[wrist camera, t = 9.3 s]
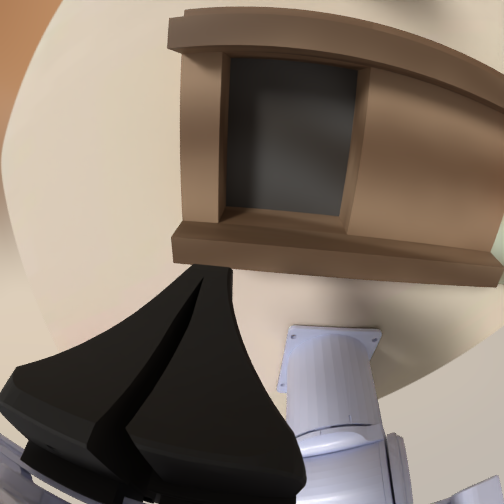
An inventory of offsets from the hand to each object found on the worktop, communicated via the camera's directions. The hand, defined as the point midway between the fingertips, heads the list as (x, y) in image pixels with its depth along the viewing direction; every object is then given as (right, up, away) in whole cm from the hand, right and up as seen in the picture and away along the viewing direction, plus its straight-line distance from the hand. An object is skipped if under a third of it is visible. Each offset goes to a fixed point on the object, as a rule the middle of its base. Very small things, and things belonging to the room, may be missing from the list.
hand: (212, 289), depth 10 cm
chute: (+12, +7, +6) cm, 15 cm away
